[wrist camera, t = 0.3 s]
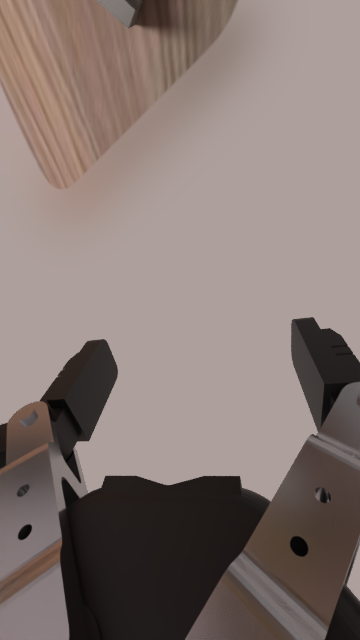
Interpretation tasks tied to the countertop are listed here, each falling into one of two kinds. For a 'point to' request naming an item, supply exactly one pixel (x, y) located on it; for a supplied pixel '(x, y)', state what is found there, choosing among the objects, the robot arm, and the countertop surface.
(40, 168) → the countertop surface
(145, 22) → the countertop surface
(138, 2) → the base
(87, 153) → the countertop surface
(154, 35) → the countertop surface
